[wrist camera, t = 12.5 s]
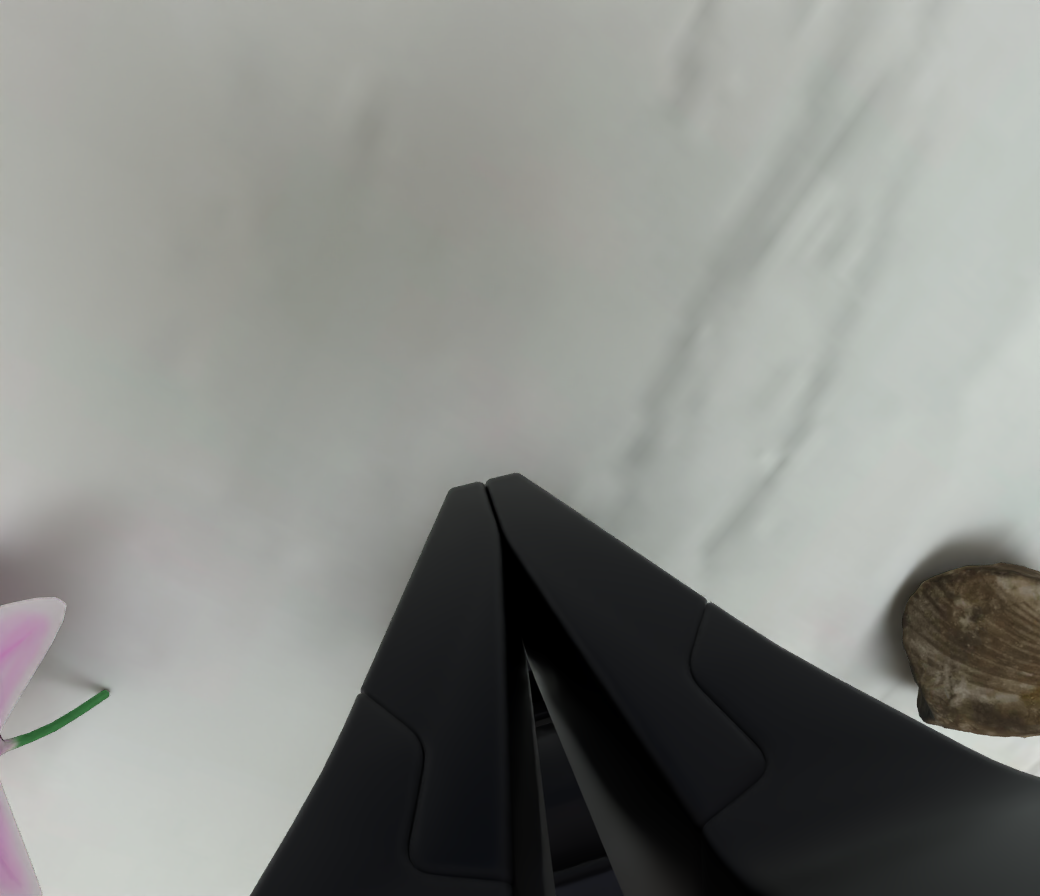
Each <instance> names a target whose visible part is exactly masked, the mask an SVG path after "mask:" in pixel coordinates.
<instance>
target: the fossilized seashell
mask: <svg viewBox="0 0 1040 896" xmlns="http://www.w3.org/2000/svg"><path fill="white" fill-rule="evenodd" d="M902 628H903V635H902V641H903V647H904V650H905V652H906V654H907V657H908V660H909V663H910V667H911V670H912V674H913V677H914V680H915V682H916V684H917V685H918V687H919V690H918V697H917V708H918V712H919V716H920V717H921V718H922V720H923V721H924V722H926V723H928V724H933V725H938V726H942V727H944V728H948V729H954V730H959V731H964V732H971V733H975V734H980V735H988V736H1000V737H1012V736H1016V737H1023V738H1026V737H1031V736H1039V735H1040V572H1039V571H1036V570H1033V569H1029V568H1027V567H1024V566H1019V565H1014V564H1008V563H1002V562H1001V563H997V564H992V565H981V566H977V565H974V566H964V567H961V568H957V569H954V570H951V571H947V572H944V573H941V574H939V575H936V576H934V577H931V578H929V579H928V580H926V581H924V582H923V583H922V584H921V585H920V586H919V588H918V589H917V591H916V592H915V593H914V594H913V595H912V596H910V598H909V600H908V602H907V604H906V607H905V611H904V614H903V618H902Z"/></svg>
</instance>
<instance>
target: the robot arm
mask: <svg viewBox="0 0 1040 896" xmlns="http://www.w3.org/2000/svg"><path fill="white" fill-rule="evenodd" d="M250 896H1040V777H1037V776H1034V775H1031V774H1028V773H1025V772H1021V771H1019V770H1016V769H1014V768H1011V767H1009V766H1007V765H1004V764H1002V763H999V762H997V761H994V760H992V759H990V758H988V757H986V756H984V755H982V754H980V753H978V752H976V751H974V750H972V749H970V748H968V747H966V746H964V745H962V744H960V743H958V742H956V741H954V740H952V739H950V738H949V737H947V736H945V735H943V734H941V733H939V732H937V731H935V730H934V729H932V728H930V727H928V726H926V725H924V724H922V723H920V722H918V721H917V720H915V719H913V718H911V717H909V716H907V715H905V714H903V713H901V712H900V711H898V710H896V709H894V708H892V707H890V706H888V705H886V704H884V703H883V702H881V701H879V700H877V699H875V698H873V697H871V696H869V695H868V694H866V693H864V692H862V691H860V690H858V689H856V688H854V687H852V686H851V685H849V684H847V683H845V682H843V681H841V680H839V679H837V678H835V677H834V676H832V675H830V674H828V673H826V672H825V671H823V670H821V669H819V668H817V667H816V666H814V665H812V664H810V663H809V662H807V661H805V660H803V659H801V658H800V657H798V656H796V655H794V654H793V653H791V652H789V651H787V650H785V649H784V648H782V647H780V646H779V645H777V644H775V643H774V642H772V641H771V640H769V639H767V638H766V637H764V636H763V635H761V634H760V633H758V632H756V631H755V630H753V629H752V628H750V627H748V626H747V625H745V624H744V623H742V622H741V621H739V620H737V619H736V618H734V617H733V616H731V615H730V614H728V613H727V612H725V611H724V610H722V609H721V608H720V607H718V606H717V605H715V604H714V603H711V602H710V603H707V600H706V599H705V598H704V597H703V596H701V595H700V594H698V593H697V592H695V591H694V590H692V589H691V588H689V587H688V586H686V585H685V584H683V583H682V582H680V581H679V580H677V579H676V578H674V577H673V576H671V575H670V574H668V573H667V572H666V571H664V570H663V569H661V568H660V567H658V566H657V565H655V564H654V563H652V562H651V561H649V560H648V559H646V558H645V557H643V556H642V555H640V554H639V553H637V552H636V551H634V550H633V549H631V548H630V547H628V546H627V545H625V544H624V543H622V542H621V541H619V540H618V539H616V538H615V537H614V536H612V535H611V534H609V533H608V532H606V531H605V530H603V529H602V528H600V527H599V526H597V525H596V524H594V523H593V522H591V521H590V520H588V519H587V518H585V517H584V516H582V515H581V514H579V513H578V512H576V511H575V510H573V509H572V508H570V507H569V506H567V505H566V504H565V503H563V502H562V501H560V500H559V499H557V498H556V497H554V496H553V495H551V494H550V493H548V492H547V491H545V490H544V489H542V488H541V487H539V486H538V485H536V484H535V483H533V482H532V481H530V480H529V479H527V478H526V477H524V476H523V475H521V474H519V473H513V474H509V475H504V476H500V477H496V478H492V479H489V480H488V481H487V482H486V487H485V485H484V484H483V483H481V482H475V483H471V484H467V485H462V486H458V487H454V488H451V489H450V490H449V492H448V494H447V496H446V498H445V500H444V503H443V505H442V507H441V509H440V512H439V514H438V516H437V518H436V521H435V523H434V525H433V527H432V530H431V532H430V534H429V536H428V539H427V541H426V543H425V545H424V548H423V550H422V552H421V554H420V557H419V559H418V561H417V563H416V566H415V568H414V570H413V572H412V575H411V577H410V579H409V581H408V584H407V586H406V588H405V590H404V593H403V595H402V597H401V599H400V602H399V604H398V606H397V608H396V611H395V613H394V615H393V617H392V620H391V622H390V624H389V626H388V629H387V631H386V633H385V635H384V638H383V640H382V642H381V644H380V647H379V649H378V651H377V653H376V656H375V658H374V660H373V662H372V665H371V667H370V669H369V671H368V674H367V676H366V678H365V680H364V683H363V685H362V687H361V693H360V694H359V695H358V696H357V697H356V700H355V702H354V704H353V707H352V709H351V711H350V713H349V716H348V718H347V720H346V723H345V725H344V727H343V729H342V731H341V733H340V735H339V737H338V739H337V741H336V743H335V746H334V748H333V750H332V752H331V754H330V756H329V758H328V760H327V762H326V764H325V766H324V768H323V770H322V772H321V774H320V776H319V777H318V779H317V781H316V783H315V785H314V786H313V788H312V790H311V792H310V794H309V795H308V797H307V799H306V801H305V802H304V804H303V806H302V808H301V810H300V811H299V813H298V815H297V817H296V818H295V820H294V822H293V824H292V826H291V827H290V829H289V831H288V832H287V834H286V836H285V837H284V839H283V841H282V843H281V844H280V846H279V848H278V849H277V851H276V853H275V854H274V856H273V858H272V859H271V861H270V863H269V864H268V866H267V868H266V869H265V871H264V873H263V875H262V876H261V878H260V880H259V881H258V883H257V885H256V886H255V888H254V890H253V891H252V893H251V895H250Z"/></svg>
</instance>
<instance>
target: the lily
mask: <svg viewBox="0 0 1040 896" xmlns="http://www.w3.org/2000/svg"><path fill="white" fill-rule="evenodd" d="M66 605H67V604H66V603H64V602H63V601H62V600H60V599H59V598H57V597H42V598H32V599H27V600H23V601H18V602H13V603H8V604H5V605H2V606H0V733H1V731H2V729H3V727H4V724H5V722H6V720H7V719H8V717H9V715H10V714H11V712H12V710H13V708H14V707H15V705H16V703H17V702H18V700H19V698H20V697H21V695H22V693H23V692H24V690H25V688H26V686H27V685H28V683H29V681H30V680H31V678H32V676H33V675H34V673H35V671H36V670H37V668H38V666H39V665H40V663H41V662H42V660H43V658H44V657H45V655H46V653H47V652H48V650H49V648H50V646H51V644H52V643H53V641H54V639H55V637H56V635H57V633H58V631H59V629H60V627H61V625H62V623H63V621H64V616H65V610H66ZM108 697H109V692H108V691H107V690H103V691H101V692H100V693H98V694H97V695H95V696H94V697H92V698H91V699H89V700H88V701H86V702H85V703H83V704H82V705H80V706H79V707H77V708H76V709H74V710H72V711H70V712H69V713H67V714H65V715H64V716H62V717H60V718H59V719H57V720H55V721H54V722H52V723H50V724H48V725H46V726H43V727H41V728H39V729H37V730H34V731H32V732H30V733H27V734H24V735H20V736H17V737H14V738H10V739H6V740H3V739H2V737H1V735H0V756H1V755H3V754H4V753H6V752H8V751H10V750H13V749H15V748H18V747H20V746H23V745H25V744H28V743H30V742H33V741H35V740H37V739H39V738H42V737H44V736H46V735H48V734H50V733H52V732H55V731H57V730H58V729H60V728H61V727H63V726H65V725H66V724H68V723H70V722H71V721H73V720H74V719H76V718H78V717H79V716H81V715H82V714H84V713H85V712H87V711H88V710H90V709H91V708H93V707H94V706H96V705H97V704H99V703H100V702H102V701H103V700H105V699H106V698H108ZM0 896H42V890H41V887H40V885H39V882H38V879H37V876H36V873H35V871H34V868H33V865H32V863H31V860H30V857H29V855H28V852H27V849H26V847H25V844H24V841H23V839H22V836H21V833H20V831H19V828H18V826H17V823H16V820H15V818H14V815H13V813H12V810H11V807H10V805H9V802H8V800H7V797H6V794H5V792H4V789H3V787H2V784H1V781H0Z"/></svg>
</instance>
